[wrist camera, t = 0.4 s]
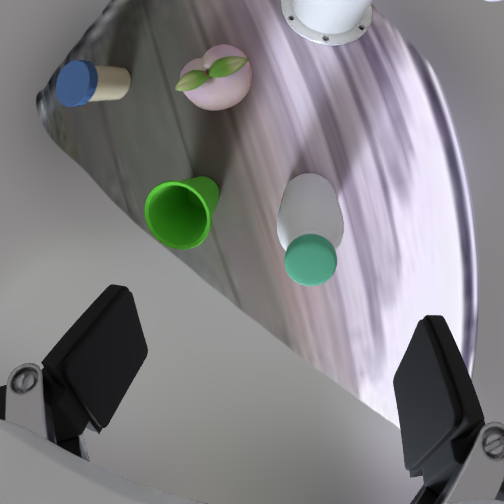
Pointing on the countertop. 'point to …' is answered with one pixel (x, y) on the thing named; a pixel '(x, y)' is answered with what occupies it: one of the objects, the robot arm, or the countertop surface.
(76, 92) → the jar lid
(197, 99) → the decorative fruit
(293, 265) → the milk bottle
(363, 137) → the countertop surface
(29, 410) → the robot arm
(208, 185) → the cup
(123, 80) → the jar
